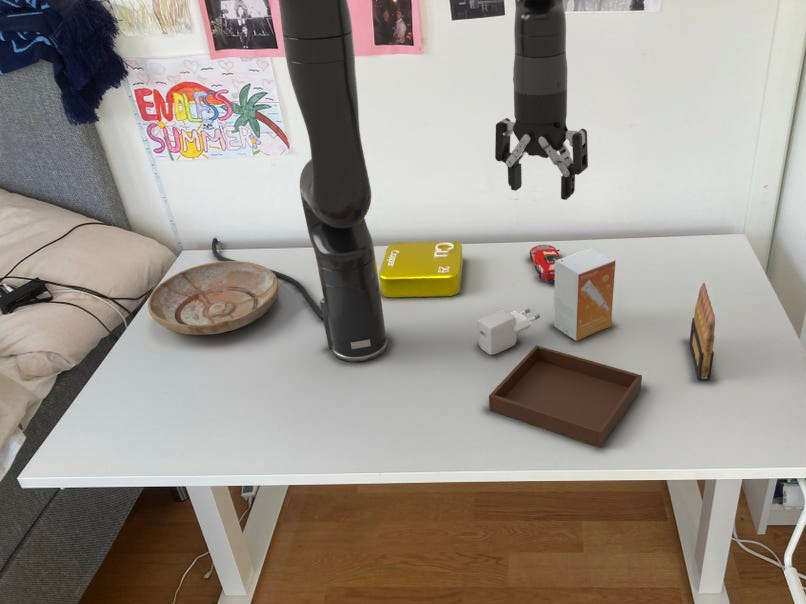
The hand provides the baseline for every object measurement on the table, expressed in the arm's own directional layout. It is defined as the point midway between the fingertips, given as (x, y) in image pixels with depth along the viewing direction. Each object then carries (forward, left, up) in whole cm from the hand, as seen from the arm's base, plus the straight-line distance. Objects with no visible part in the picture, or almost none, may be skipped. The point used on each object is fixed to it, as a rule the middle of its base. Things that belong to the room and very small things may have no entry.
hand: (540, 193), depth 119 cm
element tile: (-30, +8, -26) cm, 41 cm away
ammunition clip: (+26, +5, -26) cm, 37 cm away
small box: (+5, +6, -26) cm, 27 cm away
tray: (+11, -14, -26) cm, 32 cm away
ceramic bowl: (-57, -20, -26) cm, 66 cm away
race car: (-10, +22, -26) cm, 36 cm away
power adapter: (-4, -4, -26) cm, 27 cm away
